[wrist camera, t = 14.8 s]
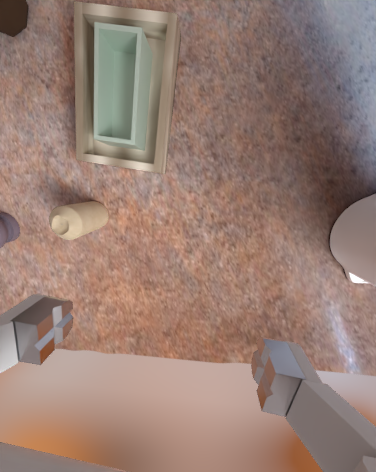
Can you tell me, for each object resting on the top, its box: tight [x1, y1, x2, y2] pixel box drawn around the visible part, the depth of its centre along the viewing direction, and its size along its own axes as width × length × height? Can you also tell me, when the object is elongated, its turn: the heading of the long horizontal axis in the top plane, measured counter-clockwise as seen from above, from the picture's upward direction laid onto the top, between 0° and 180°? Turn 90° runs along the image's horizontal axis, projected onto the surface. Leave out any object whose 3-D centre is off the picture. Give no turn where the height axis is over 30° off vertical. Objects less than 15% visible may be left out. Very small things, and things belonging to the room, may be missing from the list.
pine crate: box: [74, 1, 181, 174], centre depth 30 cm, size 14×20×4 cm
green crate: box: [94, 22, 153, 151], centre depth 29 cm, size 6×14×5 cm, turn 171°
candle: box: [49, 201, 109, 240], centre depth 33 cm, size 6×6×10 cm
